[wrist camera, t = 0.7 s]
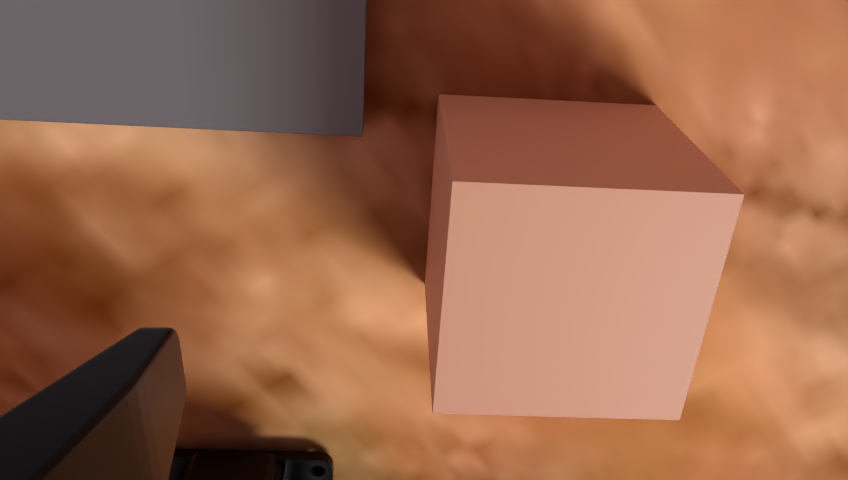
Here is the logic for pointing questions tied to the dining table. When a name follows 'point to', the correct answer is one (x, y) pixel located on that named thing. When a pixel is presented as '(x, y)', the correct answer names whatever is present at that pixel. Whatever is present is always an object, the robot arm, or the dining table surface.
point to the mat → (186, 64)
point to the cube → (569, 258)
